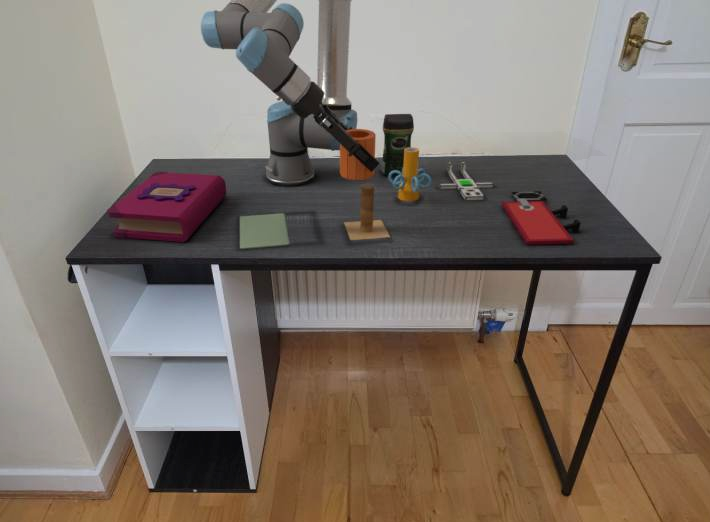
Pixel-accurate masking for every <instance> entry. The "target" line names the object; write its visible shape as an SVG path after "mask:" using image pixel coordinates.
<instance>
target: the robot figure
mask: <svg viewBox="0 0 710 522" xmlns="http://www.w3.org/2000/svg"><path fill="white" fill-rule="evenodd" d="M466 168H467V163H466V161H461V165H460V174H461V175H462V176H463V178H461V179H460V178H459V179H458V177H457V176H456V175H455V173H454V172H453V162H448V163H447V169H446V172H447V175H448V176H449V178H450V179H451V181H452V183H439V184H438V189H439V190H449V189H450V190H453V189H457V190H458V191H459V192H460V195H461V196H462V198H463V199H464V201H485V195H484V193H483V192H482V191H481V189H482V188H484V189H485V188H486V189H487V188H494V187H495V186H494V185H495V183H494V182H475V181H474V180H473V178H472V177H471V176H470V174H469V173H468V171H467V170H466Z"/></svg>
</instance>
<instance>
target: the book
mask: <svg viewBox="0 0 710 522" xmlns="http://www.w3.org/2000/svg"><path fill="white" fill-rule="evenodd" d="M226 196H227V185H226V180H225V179H224V178H223V177H222V176H220V175H217V174H215V175H214V174H200V173H183V172H168V171H156V172H154V173H152V174H151V175H149V177H148V178H147V179H145V180H144V181H143V182H142V183H140V184H139V185H138V186H137V187H136V188H134V189H132V191H130V192H129V193H128V194H126V196H124V197H122V198H121V199H120V200H119V201H118V202H117V203H115V204H113V205H111V206H110V207H109V208H107V210H106V213H107V216H108V217H109V218H111V219H117V220H118V223H119V224H118V225H116V226H115V227H114V228H113V229H112V235H113V237H115V238H117V239H118V238H119V239H140V240H150V241H151V240H153V241H166V242H176V243H177V242H179V243H185V242H187V241H188V239H189V238H190V237H191V236H192V235H193V234H194V232H195V231H196V230H197V229H198V228H199V227H200V226H201V224H203V222H204V221H205V220H206V219H207V218H208V216H209V215H210V214H211V213H212V211H214V209H215V208H216V207H217V206H218V205H219V204H220V203H221V201H222V200H223V199H224V198H225V197H226Z"/></svg>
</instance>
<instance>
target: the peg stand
mask: <svg viewBox="0 0 710 522" xmlns="http://www.w3.org/2000/svg"><path fill="white" fill-rule="evenodd" d="M374 201H375V185H374V184H373V183H369V182H368V183H367V182H366V183H362V184H361V185H360V217H359V220H357V221H345V222H343V224H344V226H345V228H346V232H347V234H348V237H349V240H350V241H359V240H372V239H383V238H391V235H390V234H389V232H388V230H387V227H386V225H385V223H384V222H383V221H382V219H374V208H375V207H374V206H375V205H374V203H375V202H374Z"/></svg>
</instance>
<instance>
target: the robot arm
mask: <svg viewBox="0 0 710 522" xmlns="http://www.w3.org/2000/svg"><path fill="white" fill-rule="evenodd" d="M277 1H278V0H230V1H229V2H228V3H227V4H226V5H225V7H224V8H223V9H221V10H215V9H214V10H211V11H209V10H208V11H206V12H205V13H204V14H203V15H202V17H201V20H200V33H201V36H202V40H203V42H204V44H205V45H207V46H208V47H209V48H212V49H220V50H222V51H223V50H235V57H236V59H237V60H238V61H239V62H240V63H241V64H242V65H243V67H245V68H246V70H247V71H248V72H249V73H251V74H252V75H253V76H255V78H257V79H258V80H259V81H260V82H261V83H262V84H263V85H264V86H266V87H267V88H268V89H269V90H270V91H271V92H272V93H273V94H275V95H276V97H275V99H276V101H278V102H274V103H273V104H271V105H270V106H268V108H267V110H266V112H267V113H266V114H267V115H266V117H267V118H266V119H267V120H266V123H267V132H268V143H269V157H268V162H267V165H265V170H266V171H265V177H266V181H267V182H268V183H270V184H273V185H275V186H280V187H281V186H282V187H294V186H302V185H305V184H308V183H310V182H311V181H313V180H314V179H315V168H314V166H313V164H312V160H311V158H310V155H309V149H319V150H329V151H332V152H335V151H340V144H341V145H342V146H343V147H344V148H345V149H346V150H347V151H348V152H349V153H350V154H349V156H350V157H351V156H352V155H354V156H355V157H356V158H357V159H358V160H359V161H360V162H361V163H362V164H363V165H364V166H365V167H366V168H368V169H369V170H370V171H371V172H372V171H373V170H374V171H375V169H376V168H377V167H378V166H379V165H380V164H381V163H380V162H379V160H377V159H376V157H375V158H374V157H373V156H372V155H371V154H370V153H369V152H368V151H367V150H366V149H365V148H363V147H362V146H361V145H360V144H359V143H357V142H356V141H355V140H354V139H353V138H352V137H351V136H350V135H349V134H348V133H347V132H346V131H345V130H349V129H358V112H357V110H355V109H352V104H353V103H352V102H351V100H350V98H348V75H349V55H350V53H349V51H350V32H351V31H350V30H351V29H350V27H351V9H352V7H351V6H352V1H353V0H318V22H317V23H318V24H317V25H318V27H317V69H316V71H317V73H316V82H315V81H312V80H311V77H310V76H309V75H308V74H307V73H306V71H304V69H302V68H301V67H300V66H299V65H298V64H297V63H296V62H295V61H293V60H292V59H291V57H290V56H291V54H292V52H293V50H294V49H295V47H296V45H297V43H298V42H299V40H300V38H301V34H302V32H303V29H304V25H305V24H304V22H305V21H304V17H303V15H302V13H301V12H300V10H299V9H298V8H297V7H296V6H294V5H292V4H290V3H286V2H285V3H283V2H282V3H279V4H277V6H275V7H274V8H273V6H274V5H275V3H276V2H277ZM271 8H273V9H272V10H271ZM270 10H271V12H269V11H270ZM308 148H309V149H308Z"/></svg>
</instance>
